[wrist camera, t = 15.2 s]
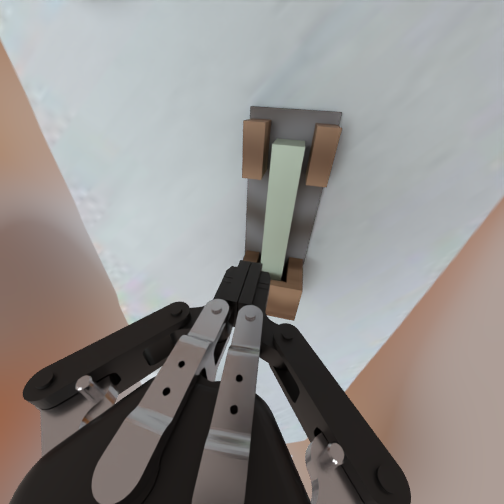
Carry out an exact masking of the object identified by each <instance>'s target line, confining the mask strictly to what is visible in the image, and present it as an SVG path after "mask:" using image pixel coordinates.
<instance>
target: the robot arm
mask: <svg viewBox="0 0 504 504" xmlns="http://www.w3.org/2000/svg"><path fill="white" fill-rule="evenodd" d="M262 267H263V263H256V262H250V261H244V260H240V262H239V265H238V267H234V266H231V267H230V268H229V269H228V270H227V271H226V273H225V275H224V277H223V279H222V282H221V284H220V286H219V288H218V290H217V292H216V294H215V297H214V299H213V300H211V301H209V302H208V303H207V304H206V305H205V306H203V307H196V308H189V306H188V305H187V304H186V303H184V302H175V303H172V304H170V305H168V306H166V307H164V308H162V309H160V310H158V311H156V312H154V313H152V314H150V315H148V316H146V317H144V318H142V319H140V320H138V321H136V322H134V323H132V324H130V325H128V326H126V327H124V328H122V329H120V330H118V331H116V332H115V333H112V334H111V335H109V336H107V337H105V338H103V339H101V340H99V341H97V342H95V343H93V344H91V345H89V346H87V347H85V348H83V349H81V350H79V351H77V352H75V353H73V354H71V355H69V356H67V357H65V358H63V359H61V360H59V361H57V362H55V363H53V364H51V365H49V366H47V367H45V368H43V369H42V370H40V371H39V372H37V373H36V374H35V375H34V376H33V377H32V378H31V379H30V380H29V381H28V382H27V384H26V386H25V388H24V390H23V397H24V399H25V400H27V401H28V402H30V403H31V404H33V405H35V407H36V408H37V409H39V410H40V414H41V442H42V458H41V459H40V460H39V461H38V462H37V463H36V464H35V465H34V466H33V467H32V469H31V470H30V471H29V472H28V473H27V475H26V476H25V478H24V479H23V480H22V482H21V483H20V485H19V486H18V488H17V490H16V491H15V493H14V495H13V497H12V499H11V501H10V503H9V504H410V503H411V493H410V488H409V485H408V481H407V479H406V477H405V475H404V473H403V471H402V470H401V468H400V467H399V465H398V464H397V463H396V461H395V460H394V458H393V457H392V456H391V454H390V453H389V452H388V450H387V449H386V448H385V446H384V445H383V444H382V442H381V441H380V440H379V438H378V437H377V436H376V434H375V433H374V431H373V430H372V429H371V427H370V426H369V425H368V423H367V422H366V421H365V419H364V418H363V417H362V415H361V414H360V413H359V411H358V410H357V409H356V407H355V406H354V404H353V403H352V402H351V401H350V399H349V398H348V397H347V395H346V394H345V392H344V391H343V390H342V388H341V387H340V386H339V384H338V383H337V381H336V380H335V379H334V377H333V376H332V375H331V373H330V372H329V371H328V369H327V368H326V367H325V365H324V364H323V363H322V361H321V360H320V359H319V357H318V356H317V354H316V353H315V352H314V350H313V349H312V348H311V346H310V345H309V344H308V342H307V341H306V340H305V338H304V337H303V336H302V334H301V333H300V332H299V330H298V329H297V328H296V327H295V326H293V325H291V324H287V323H283V324H280V325H278V324H276V323H274V322H272V321H271V320H270V319H269V318H268V317H267V315H266V313H265V312H266V307H267V302H268V296H269V290H270V282H271V277H270V274H269V272H264V271H262ZM232 327H235V329H234V334H233V338H232V343H231V346H230V347H229V349H228V353H227V357H226V361H225V365H224V370H223V374H222V378H221V381H215V378H216V373H217V369H218V366H219V364H220V361H221V359H222V356H223V354H224V351H225V349H226V346H227V344H228V341H229V339H230V334H231V330H232ZM259 357H260V358H262V359H263V360H265V361H266V362H268V363H269V365H270V368H271V370H272V371H273V373H274V375H275V377H276V379H277V381H278V383H279V384H280V386H281V388H282V390H283V392H284V394H285V396H286V397H287V399H288V401H289V403H290V405H291V407H292V409H293V411H294V412H295V414H296V416H297V418H298V420H299V422H300V424H301V425H302V427H303V429H304V431H305V433H306V435H307V437H308V438H309V440H310V442H311V443H310V445H309V446H308V448H307V450H306V456H305V461H306V467H307V470H308V473H309V476H310V479H311V483H312V498H311V502H310V499H309V497H308V495H307V492H306V490H305V488H304V485H303V483H302V481H301V479H300V476H299V474H298V471H297V469H296V467H295V464H294V463H293V460H292V457H291V455H290V453H289V450H288V448H287V446H286V443H285V441H284V439H283V436H282V434H281V432H280V429H279V427H278V425H277V422H276V420H275V418H274V416H273V413H272V412H271V410H270V408H269V406H268V405H267V404H266V402H265V401H264V400H263V399H262V398H261V397H260V396H258V395H257V394H256V393H255V392H256V382H257V372H258V362H259ZM161 366H162V368H161V369H160V371H159V373H158V374H157V376H156V377H154V378H152V379H150V380H148V381H147V382H145V383H144V384H143V385H141V386H140V387H138V388H137V389H136V390H134V391H133V392H131V393H130V394H129V395H127V396H126V397H124V398H123V399H121V400H120V401H119V402H117V403H116V404H115V402H116V399H117V397H118V395H119V394H120V393H122V392H123V391H125V390H126V389H128V388H129V387H131V386H132V385H134V384H135V383H137V382H138V381H140V380H141V379H143V378H144V377H146V376H148V375H149V374H151V373H152V372H154V371H155V370H157V369H158V368H160V367H161Z"/></svg>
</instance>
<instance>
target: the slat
mask: <svg viewBox="0 0 504 504" xmlns="http://www.w3.org/2000/svg"><path fill="white" fill-rule="evenodd" d="M304 151H305V141H301V140H289V139H278V138H277V139H276V140H275V141H274V143H273V144H272V152H271V162H270V172H269V183H268V193H267V203H266V213H265V224H264V234H263V244H262V255H261V263H263V267H262V271H264V272H269V274H270V277H271V280H276V281H281V277H282V271H283V266H284V260H285V255H286V249H287V244H288V238H289V233H290V227H291V222H292V216H293V211H294V205H295V200H296V195H297V189H298V184H299V178H300V173H301V167H302V162H303V156H304Z"/></svg>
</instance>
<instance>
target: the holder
mask: <svg viewBox="0 0 504 504" xmlns="http://www.w3.org/2000/svg"><path fill="white" fill-rule="evenodd" d="M341 114H342V112H329V111H314V110H299V109H284V108H269V107H254V106H251V107H250V119H248V120H244V121H243V163H242V178H248V187H247V213H246V240H245V256H244V258H243V260H244V261H250V262H256V263H261V255H262V244H263V234H264V224H265V213H266V203H267V193H268V183H269V172H270V162H271V152H272V144H273V143H274V141H275V140H276V139H277V138H278V139H289V140H301V141H305V151H304V156H303V162H302V167H301V173H300V178H299V184H298V189H297V195H296V200H295V205H294V211H293V216H292V222H291V227H290V233H289V238H288V244H287V249H286V255H285V260H284V266H283V271H282V277H281V281H276V280H271V282H270V290H269V296H268V302H267V307H266V312H265V313H266V315H269V316H274V317H278V318H283V319H288V320H293V321H294V319H295V316H296V312H297V308H298V305H299V301H300V298H301V294H302V284H303V263H304V259H305V255H306V252H307V248H308V244H309V240H310V236H311V232H312V228H313V224H314V220H315V216H316V212H317V208H318V205H319V201H320V197H321V193H322V189H323V187H327V183H328V180H329V176H330V172H331V168H332V165H333V161H334V157H335V153H336V150H337V146H338V142H339V138H340V134H341V131H342V128H341V127H339V122H340V118H341Z"/></svg>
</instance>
